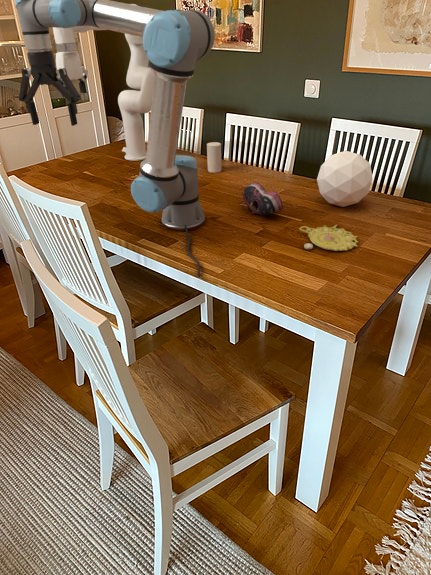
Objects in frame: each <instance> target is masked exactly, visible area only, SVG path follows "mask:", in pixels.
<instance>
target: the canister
mask: <svg viewBox="0 0 431 575" xmlns="http://www.w3.org/2000/svg"><path fill="white" fill-rule="evenodd" d="M206 155H207V156H206V158H207V159H206V160H207V172H209V173H213V174H215V173H216V174H217V173H220V172H222V143H220V142H217V141H212V142H208V143H206Z"/></svg>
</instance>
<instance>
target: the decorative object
mask: <svg viewBox="0 0 431 575" xmlns="http://www.w3.org/2000/svg"><path fill="white" fill-rule="evenodd" d="M303 228H304V229H305V230H304V229H303ZM299 231H300V232H303V233H305V234H307V237H308V238H309V240H310V241H311V243H304V244H303V248H304V249H305V250H313V249H314V245H315V246H316V247H318V248H321V249H324V250H328V251H335V252H341V251H348V250H352V249H354V247H356V248H358V247H359V245H358V244H357V243H359V240H357V238H359V237H358V235H353V234H352V231H347V230H346V229H345V228H344V227H342V228H338V224H335V225H333V226H331V227H328V226H327V225H326V224H325V225H323V226H322V227H321V226H317V227H316V228H314V227H309V226H308V225H302V226H300V227H299ZM313 244H314V245H313Z"/></svg>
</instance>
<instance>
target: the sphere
mask: <svg viewBox="0 0 431 575" xmlns="http://www.w3.org/2000/svg"><path fill="white" fill-rule="evenodd" d="M373 178H374V177H373V172H372V166H371V163H370V162H369V161H368V160H367V159H366V158H365V157H364V156H362V154H360V153H355V152H352V151H349V150H344V151H340V152H337V153H334V154H331V155H330V156H328V158H326V160H325V161H324V162H323V163H322V164H321V165H320V168H319V171H318V175H317V178H316V183H317V186H318V191H319V194H320V195H321V196H322V198H323V199H324V200H325V201H326V202H327V203H328V204H330V205H333V206H337V207H342V208H345V207H348V206H351V205H354V204H355V205H356V204H359V202H360V201H362V200H363V199H364V198H365V197H366V196H367V195H368V194H369V193H370V189H371V186H372V181H373Z"/></svg>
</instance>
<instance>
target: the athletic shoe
mask: <svg viewBox="0 0 431 575" xmlns="http://www.w3.org/2000/svg"><path fill="white" fill-rule="evenodd" d="M241 197H242V199H243V201H238V203H239V204H241V205H245V206H246V207H247V208H248V210H249V211H250V210H251V213H252V214H255V215H260V217H266V216H267V215H270V214H274V213H275V212H279V211H282V210H283V209H284V205H283V201H282V198H281V196H280V195H279V194H278V192H277V191H274V190H269V191H267V190H266V189H265V187H264V186H263V185H262V184H261V183H258V182H251V183H249V184H247V186H246V187H245V188H244V190H243V191H242V192H241Z"/></svg>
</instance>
